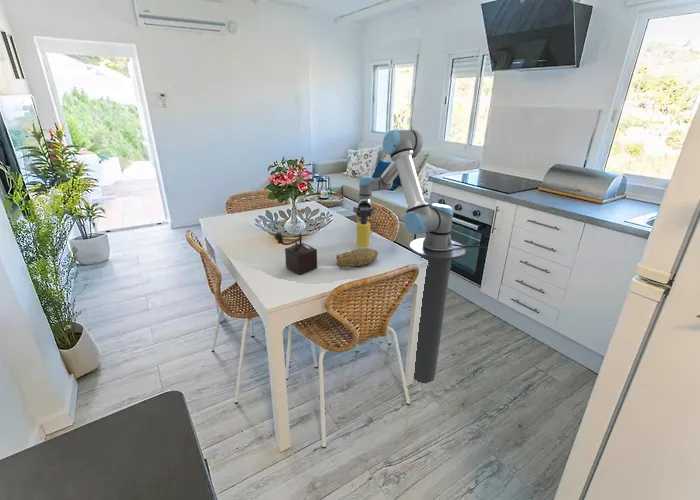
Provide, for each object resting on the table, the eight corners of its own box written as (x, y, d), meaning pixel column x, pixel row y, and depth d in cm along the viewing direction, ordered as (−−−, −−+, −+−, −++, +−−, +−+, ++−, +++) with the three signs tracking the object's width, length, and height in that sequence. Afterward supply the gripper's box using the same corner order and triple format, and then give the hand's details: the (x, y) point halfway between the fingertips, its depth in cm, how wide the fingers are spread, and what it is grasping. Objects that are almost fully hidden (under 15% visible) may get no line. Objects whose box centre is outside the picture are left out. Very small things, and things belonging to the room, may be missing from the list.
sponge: (339, 273, 156) (383, 263, 157) (336, 257, 154) (379, 246, 155) (337, 265, 168) (377, 256, 169) (334, 250, 166) (374, 240, 168)
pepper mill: (302, 260, 164) (301, 224, 157) (317, 267, 157) (317, 230, 150) (275, 270, 154) (271, 232, 147) (289, 279, 147) (287, 239, 140)
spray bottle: (369, 242, 189) (371, 207, 182) (369, 247, 182) (371, 211, 174) (356, 241, 189) (357, 206, 182) (356, 247, 182) (357, 210, 175)
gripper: (375, 212, 205) (375, 225, 184) (353, 212, 206) (351, 224, 184) (376, 200, 203) (376, 211, 181) (353, 199, 203) (351, 210, 181)
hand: (363, 218), depth 183 cm, fingers closed
